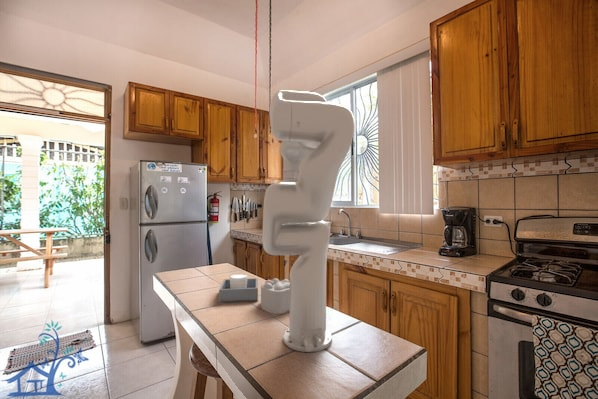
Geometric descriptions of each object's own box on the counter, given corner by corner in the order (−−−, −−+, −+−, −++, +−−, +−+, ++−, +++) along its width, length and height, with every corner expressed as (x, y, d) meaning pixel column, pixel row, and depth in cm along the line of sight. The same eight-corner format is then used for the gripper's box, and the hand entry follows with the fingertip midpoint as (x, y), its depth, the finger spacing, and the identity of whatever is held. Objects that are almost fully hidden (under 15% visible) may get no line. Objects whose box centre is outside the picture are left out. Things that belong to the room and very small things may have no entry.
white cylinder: (249, 291, 107) (249, 273, 107) (245, 297, 100) (245, 278, 100) (232, 291, 107) (232, 273, 107) (226, 297, 100) (227, 278, 100)
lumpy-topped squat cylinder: (275, 315, 85) (275, 288, 86) (253, 304, 95) (253, 279, 95) (300, 307, 92) (300, 282, 92) (277, 297, 102) (277, 274, 102)
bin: (257, 301, 98) (257, 288, 98) (219, 302, 96) (219, 289, 96) (257, 289, 111) (257, 278, 112) (223, 290, 109) (223, 279, 109)
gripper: (313, 178, 106) (313, 222, 105) (269, 177, 103) (269, 222, 103) (318, 176, 98) (317, 223, 98) (270, 175, 96) (270, 223, 95)
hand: (292, 223), depth 100 cm, fingers open, 9 cm apart
